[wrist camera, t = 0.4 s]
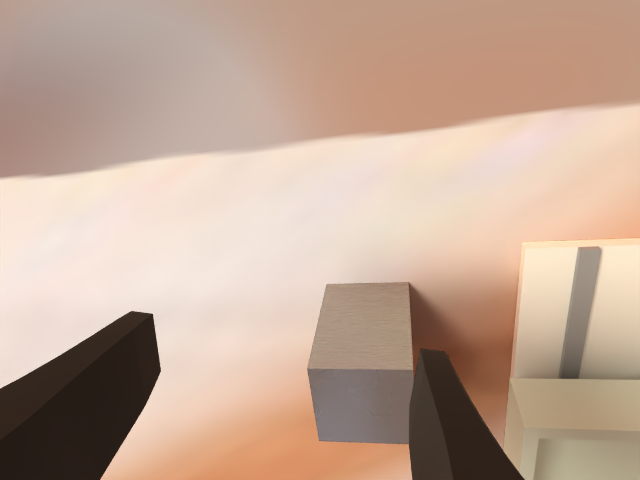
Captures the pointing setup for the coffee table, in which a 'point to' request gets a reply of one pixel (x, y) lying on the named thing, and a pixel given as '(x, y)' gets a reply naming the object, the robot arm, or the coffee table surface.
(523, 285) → the rail board
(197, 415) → the coffee table surface
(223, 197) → the coffee table surface
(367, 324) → the part block
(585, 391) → the mint green storage bin
